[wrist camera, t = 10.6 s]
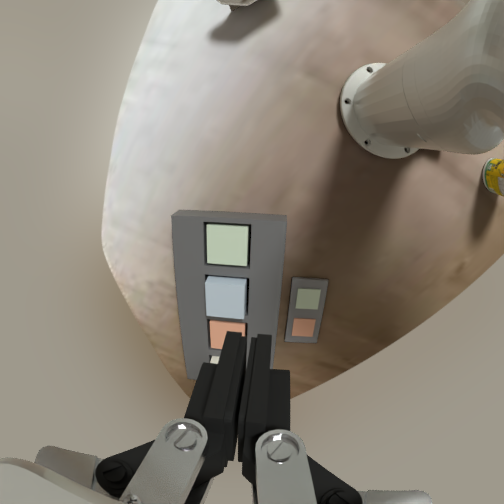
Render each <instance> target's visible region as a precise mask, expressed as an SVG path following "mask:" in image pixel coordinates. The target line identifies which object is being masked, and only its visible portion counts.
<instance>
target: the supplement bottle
mask: <svg viewBox="0 0 504 504" xmlns="http://www.w3.org/2000/svg"><path fill="white" fill-rule="evenodd" d="M483 181H484V185H485V186H486V188H487V189H488V190H489V191H490V192H493V193H495V194H498V195H501V196H504V160H501V159H496V158H491V159H489V160H488V161H487V162H486V164H485V166H484V168H483Z"/></svg>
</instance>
